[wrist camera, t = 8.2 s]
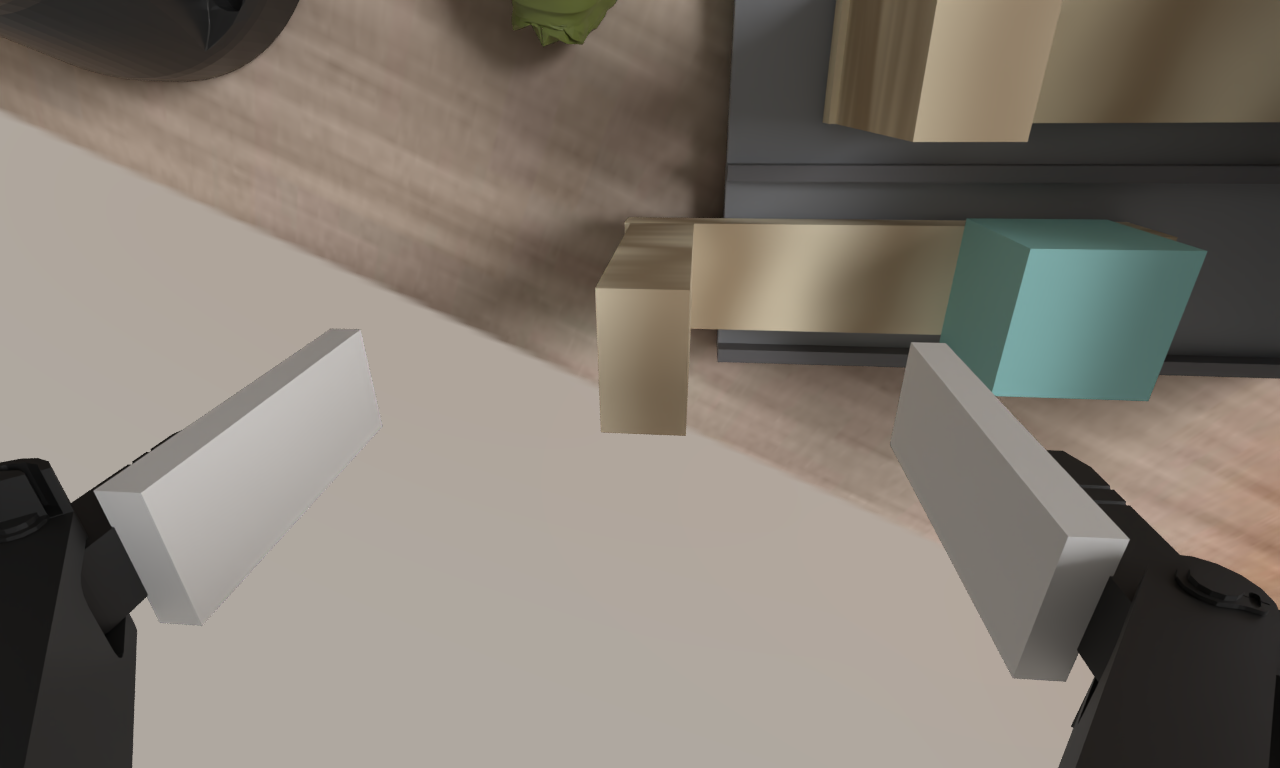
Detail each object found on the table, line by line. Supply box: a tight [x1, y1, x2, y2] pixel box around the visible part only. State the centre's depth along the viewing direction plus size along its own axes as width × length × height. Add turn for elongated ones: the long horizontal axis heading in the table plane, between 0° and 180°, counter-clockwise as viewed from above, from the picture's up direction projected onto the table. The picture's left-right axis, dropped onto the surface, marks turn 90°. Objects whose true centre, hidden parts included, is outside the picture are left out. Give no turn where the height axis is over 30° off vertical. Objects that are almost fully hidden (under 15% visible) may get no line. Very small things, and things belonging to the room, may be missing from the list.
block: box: [939, 218, 1208, 401], centre depth 22 cm, size 5×5×5 cm
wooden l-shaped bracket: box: [595, 217, 1178, 436], centre depth 21 cm, size 20×4×10 cm, turn 90°
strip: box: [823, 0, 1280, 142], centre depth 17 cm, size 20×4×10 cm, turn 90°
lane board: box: [717, 0, 1280, 378], centre depth 24 cm, size 24×16×2 cm, turn 90°
